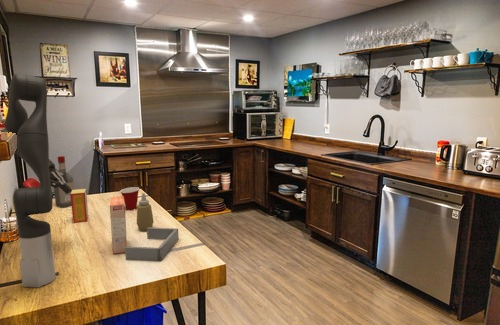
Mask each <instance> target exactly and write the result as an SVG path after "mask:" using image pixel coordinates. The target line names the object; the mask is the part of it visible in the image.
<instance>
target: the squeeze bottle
mask: <svg viewBox="0 0 500 325" xmlns="http://www.w3.org/2000/svg"><path fill="white" fill-rule="evenodd" d="M154 222H155V220H154V216H153V208H152V205H151V203H150V200H149V199H147V196H146V194H145V192H143V193H142V194H141V198H140V200H139V201H138V204H137V208H136V226H137V228H138V230H139V231H143V232H144V231H146V232H147V228H153V224H154Z"/></svg>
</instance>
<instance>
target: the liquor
mask: <svg viewBox="0 0 500 325" xmlns="http://www.w3.org/2000/svg"><path fill="white" fill-rule="evenodd" d="M57 163H58V171H59V172H60V173H63V172H65V173H66V175H67V179H68V182H67V183H66V184H67V185H68V186H69V187H70V188H71V189H72V190H75V188H74V187H75V186H74V185H75V184H74V183H75V182H74V178H73V176H72V175H70V174H69V173H68V172H67V170H66V158H65V155H63V156H61V155H60V156H57ZM53 190H54V191H53V192H54V202H55V206H56V207H58V208H62V209H63V208H68V207H72V204H71V192H72V191H71V192H70V193H68V194H66V193H65V192H64V191H63V190H62V189H61V188H58V187H57V188H54V187H53Z"/></svg>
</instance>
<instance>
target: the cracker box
mask: <svg viewBox="0 0 500 325" xmlns="http://www.w3.org/2000/svg"><path fill="white" fill-rule="evenodd" d="M109 198H110V199H109V214H110V216H109V218H110V233H111V246H112V254H113V255H115V254H116V255H117V254H123V253H125V247H126V246H128V240H127V239H128V238H127V220H126V219H127V218H126V217H127V216H126V207H125V202H124V196H122V195H121V196H120V195H119V196H111V197H109Z"/></svg>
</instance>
